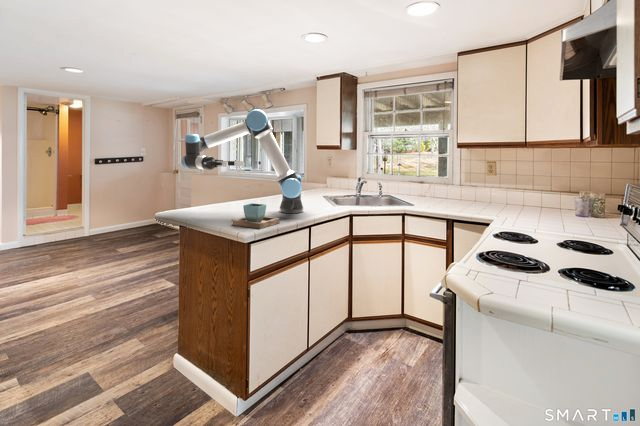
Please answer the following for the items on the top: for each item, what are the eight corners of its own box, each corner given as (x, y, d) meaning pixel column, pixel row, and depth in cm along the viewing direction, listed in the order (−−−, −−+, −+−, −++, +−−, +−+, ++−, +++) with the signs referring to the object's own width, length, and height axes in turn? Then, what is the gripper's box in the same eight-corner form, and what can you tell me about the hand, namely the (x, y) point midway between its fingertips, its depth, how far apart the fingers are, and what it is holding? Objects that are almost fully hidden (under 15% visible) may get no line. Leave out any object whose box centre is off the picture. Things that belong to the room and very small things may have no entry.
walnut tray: (253, 219, 192) (253, 215, 192) (279, 223, 185) (279, 218, 184) (232, 224, 177) (232, 220, 177) (260, 228, 170) (260, 223, 169)
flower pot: (266, 221, 183) (266, 204, 182) (258, 224, 175) (258, 206, 174) (251, 220, 186) (251, 203, 185) (243, 222, 178) (242, 205, 176)
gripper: (221, 169, 209) (250, 170, 200) (188, 170, 187) (219, 171, 177) (221, 156, 208) (250, 156, 198) (188, 155, 185) (219, 156, 176)
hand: (236, 163), depth 188 cm, fingers open, 13 cm apart
